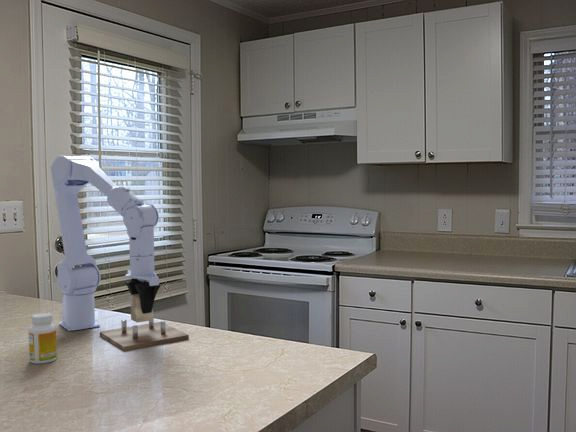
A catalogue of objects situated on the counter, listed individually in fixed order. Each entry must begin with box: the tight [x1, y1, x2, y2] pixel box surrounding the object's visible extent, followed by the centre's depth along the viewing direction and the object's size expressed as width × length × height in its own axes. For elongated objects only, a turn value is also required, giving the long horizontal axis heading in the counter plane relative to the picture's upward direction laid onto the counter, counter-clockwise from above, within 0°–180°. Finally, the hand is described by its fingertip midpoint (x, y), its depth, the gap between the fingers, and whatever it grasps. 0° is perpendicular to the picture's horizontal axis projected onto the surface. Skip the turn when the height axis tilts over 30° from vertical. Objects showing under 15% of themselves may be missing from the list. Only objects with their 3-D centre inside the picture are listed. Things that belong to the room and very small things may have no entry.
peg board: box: [99, 315, 190, 352], centre depth 141 cm, size 16×16×4 cm
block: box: [130, 294, 154, 323], centre depth 140 cm, size 4×4×6 cm
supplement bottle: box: [28, 312, 58, 365], centre depth 123 cm, size 5×5×10 cm
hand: (143, 311), depth 140 cm, fingers closed on block, 4 cm apart
